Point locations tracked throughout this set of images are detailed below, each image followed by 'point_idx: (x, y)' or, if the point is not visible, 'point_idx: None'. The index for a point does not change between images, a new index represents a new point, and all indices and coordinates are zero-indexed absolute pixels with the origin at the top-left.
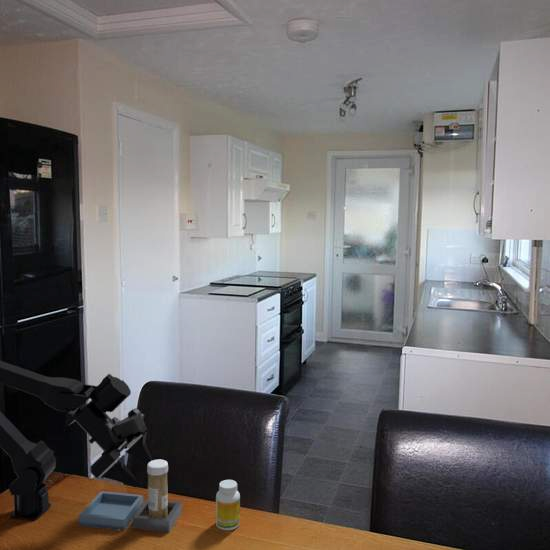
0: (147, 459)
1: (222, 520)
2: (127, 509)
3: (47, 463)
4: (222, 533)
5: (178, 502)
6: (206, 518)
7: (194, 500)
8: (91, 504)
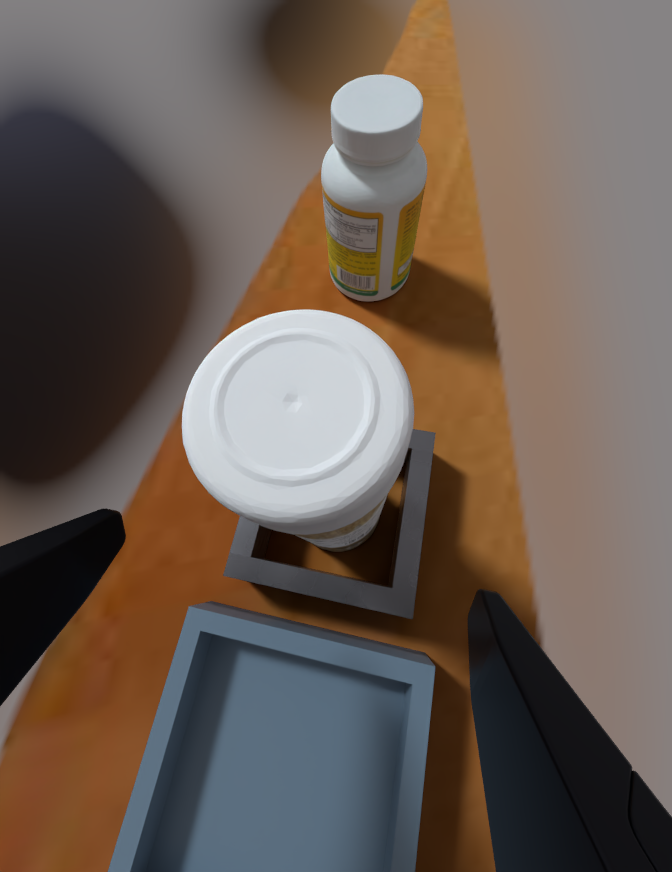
0: (46, 583)
1: (411, 254)
2: (266, 676)
3: None
4: (422, 282)
5: None
6: None
7: None
8: None
